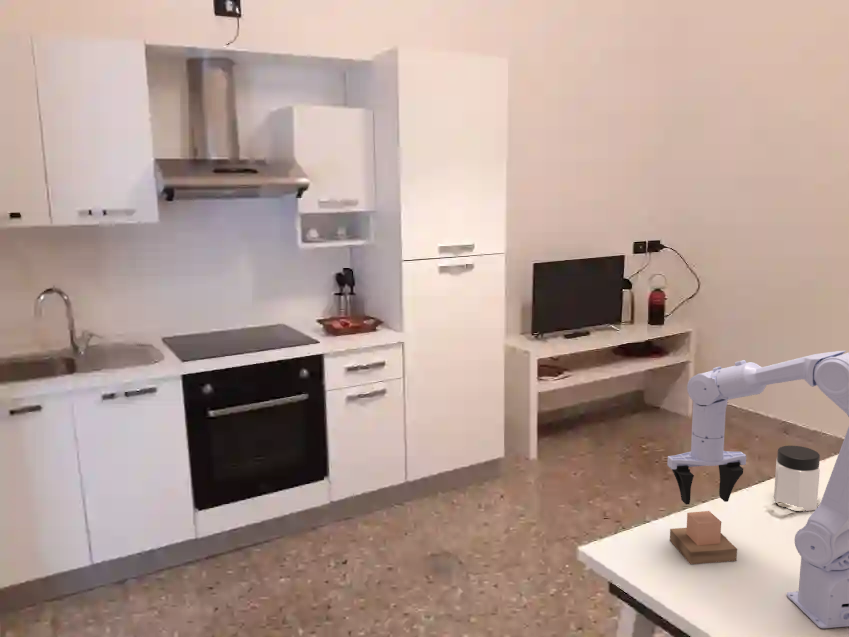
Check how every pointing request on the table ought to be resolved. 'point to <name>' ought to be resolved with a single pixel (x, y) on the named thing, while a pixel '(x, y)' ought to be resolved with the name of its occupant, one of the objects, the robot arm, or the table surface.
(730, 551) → the base block
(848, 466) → the robot arm
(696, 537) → the cube
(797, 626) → the table surface
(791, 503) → the jar
